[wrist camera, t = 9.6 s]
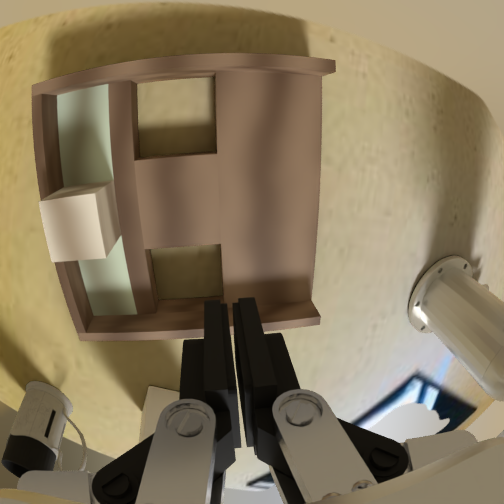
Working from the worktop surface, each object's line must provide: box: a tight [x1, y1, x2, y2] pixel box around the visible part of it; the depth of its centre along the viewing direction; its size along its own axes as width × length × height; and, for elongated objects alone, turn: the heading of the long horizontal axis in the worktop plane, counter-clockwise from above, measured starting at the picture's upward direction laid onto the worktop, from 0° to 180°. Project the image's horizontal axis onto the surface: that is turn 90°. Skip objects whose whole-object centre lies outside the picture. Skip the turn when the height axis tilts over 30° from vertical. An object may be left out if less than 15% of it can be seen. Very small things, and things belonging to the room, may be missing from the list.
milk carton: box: [139, 386, 180, 443], centre depth 30 cm, size 7×7×19 cm
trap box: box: [32, 53, 336, 341], centre depth 25 cm, size 24×24×6 cm
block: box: [39, 180, 121, 262], centre depth 22 cm, size 5×5×5 cm
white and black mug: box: [2, 381, 87, 478], centre depth 30 cm, size 9×14×15 cm, turn 96°
